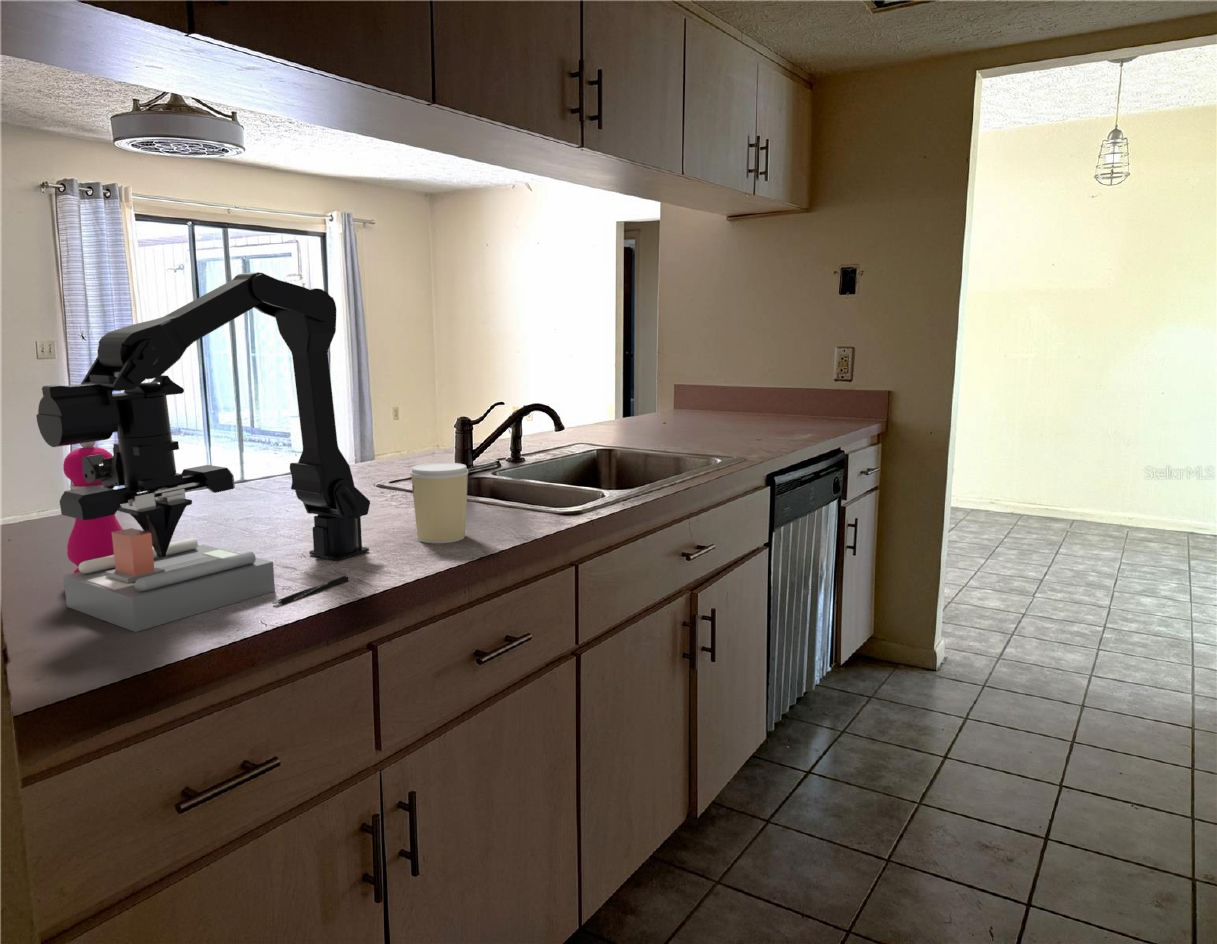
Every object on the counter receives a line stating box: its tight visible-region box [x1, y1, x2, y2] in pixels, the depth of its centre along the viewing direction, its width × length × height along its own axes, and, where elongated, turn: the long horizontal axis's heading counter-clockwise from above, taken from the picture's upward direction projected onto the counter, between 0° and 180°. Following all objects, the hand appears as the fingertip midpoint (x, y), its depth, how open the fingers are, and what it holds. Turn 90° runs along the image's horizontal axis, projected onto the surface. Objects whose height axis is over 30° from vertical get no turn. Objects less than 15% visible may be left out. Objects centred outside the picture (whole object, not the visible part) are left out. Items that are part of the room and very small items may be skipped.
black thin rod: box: [272, 575, 350, 608], centre depth 107 cm, size 12×1×1 cm, turn 153°
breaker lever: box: [105, 527, 165, 583], centre depth 100 cm, size 4×5×5 cm
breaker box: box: [63, 537, 276, 633], centre depth 104 cm, size 18×16×6 cm
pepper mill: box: [62, 441, 124, 573], centre depth 111 cm, size 7×7×20 cm
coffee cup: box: [409, 462, 469, 544], centre depth 135 cm, size 9×9×12 cm
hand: (161, 557), depth 103 cm, fingers closed
